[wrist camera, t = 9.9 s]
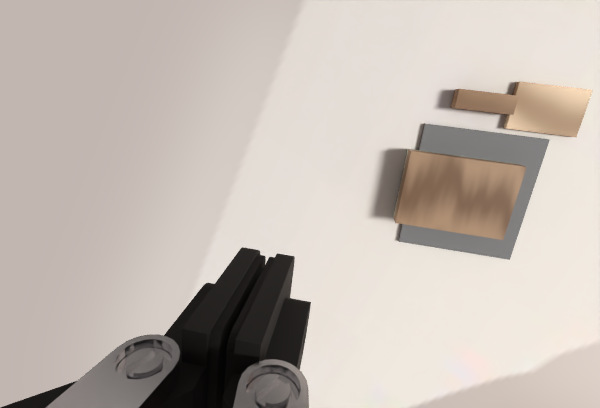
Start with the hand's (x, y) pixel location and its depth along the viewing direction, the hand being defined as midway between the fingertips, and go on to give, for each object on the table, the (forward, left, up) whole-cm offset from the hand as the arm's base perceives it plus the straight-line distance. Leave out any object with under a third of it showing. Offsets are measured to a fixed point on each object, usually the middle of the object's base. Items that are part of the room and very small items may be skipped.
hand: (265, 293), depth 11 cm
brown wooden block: (+1, +8, -24) cm, 25 cm away
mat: (+1, +14, -25) cm, 29 cm away
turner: (-8, +17, -25) cm, 31 cm away
